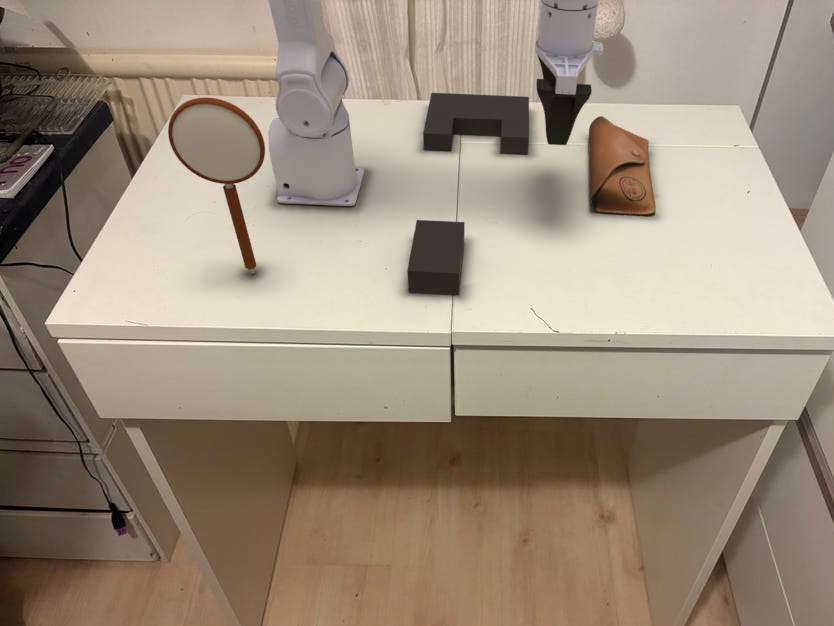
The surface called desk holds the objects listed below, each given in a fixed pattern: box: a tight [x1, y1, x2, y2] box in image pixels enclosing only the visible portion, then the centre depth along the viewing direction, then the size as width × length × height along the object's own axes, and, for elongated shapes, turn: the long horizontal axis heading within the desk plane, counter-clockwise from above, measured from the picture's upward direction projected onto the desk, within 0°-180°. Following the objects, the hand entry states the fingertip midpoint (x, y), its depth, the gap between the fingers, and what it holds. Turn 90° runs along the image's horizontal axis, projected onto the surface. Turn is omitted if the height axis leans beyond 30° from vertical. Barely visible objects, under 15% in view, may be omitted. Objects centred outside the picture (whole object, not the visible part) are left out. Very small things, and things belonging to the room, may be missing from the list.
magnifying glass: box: [167, 97, 266, 275], centre depth 70 cm, size 9×2×20 cm, turn 90°
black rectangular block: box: [407, 219, 465, 296], centre depth 78 cm, size 5×9×3 cm, turn 177°
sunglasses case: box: [588, 115, 657, 216], centre depth 91 cm, size 18×7×7 cm
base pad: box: [422, 92, 530, 155], centre depth 99 cm, size 14×12×2 cm
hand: (555, 125), depth 81 cm, fingers open, 7 cm apart
